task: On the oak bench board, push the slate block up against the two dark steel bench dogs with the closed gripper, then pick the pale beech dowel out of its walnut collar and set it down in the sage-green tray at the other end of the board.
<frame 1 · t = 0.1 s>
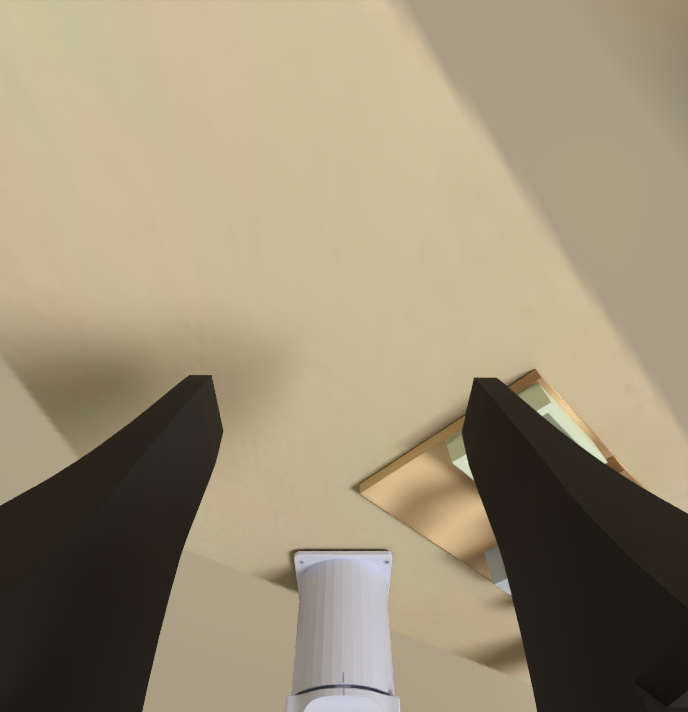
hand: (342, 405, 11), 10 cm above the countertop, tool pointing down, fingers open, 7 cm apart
sage tray: (518, 440, 25), resting on bench board
bench board: (540, 517, 30), on the countertop
slate block: (538, 551, 31), point 1 cm above the countertop, touching bench board
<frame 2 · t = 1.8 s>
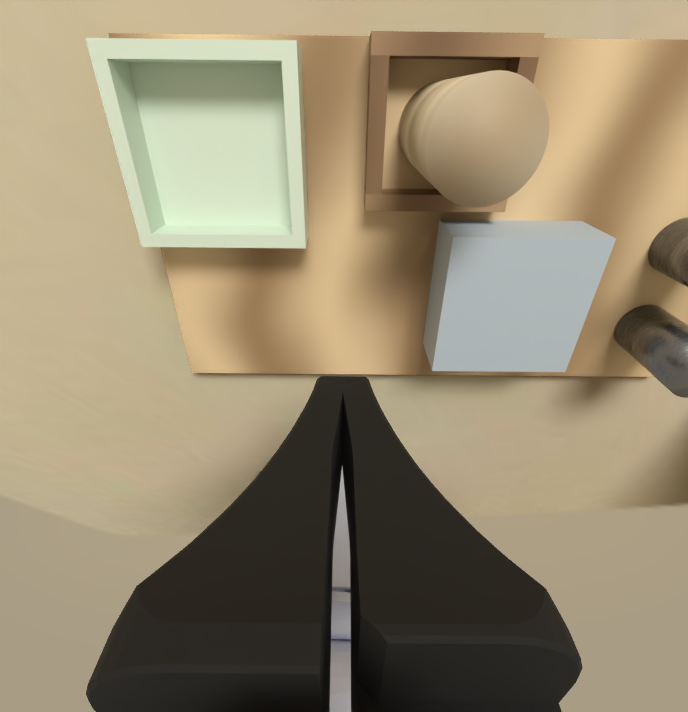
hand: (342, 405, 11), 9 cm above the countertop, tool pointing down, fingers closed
sage tray: (222, 150, 15), resting on bench board
bench dogs: (552, 281, 19), resting on bench board
bench board: (444, 238, 18), on the countertop
slate block: (495, 287, 18), point 1 cm above the countertop, touching bench board
beech dowel: (438, 129, 15), point 1 cm above the countertop, touching bench board
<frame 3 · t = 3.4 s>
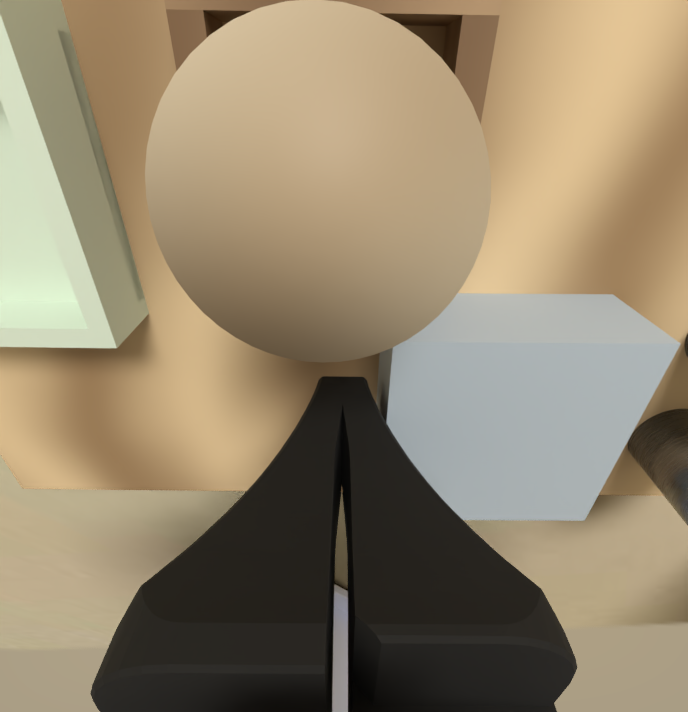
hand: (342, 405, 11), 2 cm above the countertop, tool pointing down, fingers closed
bench dogs: (537, 371, 13), resting on bench board
bench board: (369, 312, 12), on the countertop
slate block: (476, 385, 12), point 1 cm above the countertop, touching gripper
beech dowel: (334, 149, 9), point 1 cm above the countertop, touching bench board
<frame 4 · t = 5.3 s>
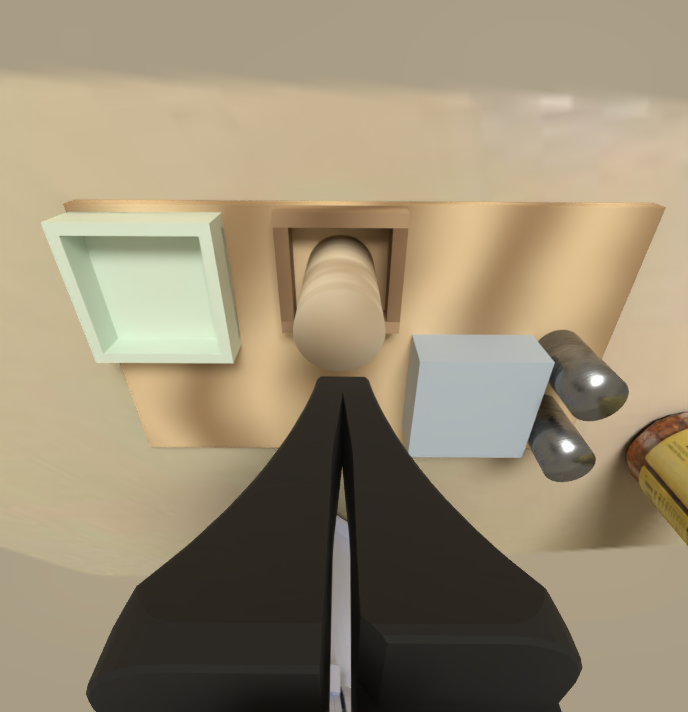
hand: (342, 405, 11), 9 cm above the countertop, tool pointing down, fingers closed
sage tray: (163, 283, 18), resting on bench board
sauce bottle: (671, 438, 25), on the countertop
bench dogs: (457, 373, 22), resting on bench board
bench board: (359, 341, 21), on the countertop
slate block: (462, 383, 21), point 1 cm above the countertop, touching bench board
beech dowel: (340, 268, 18), point 1 cm above the countertop, touching bench board
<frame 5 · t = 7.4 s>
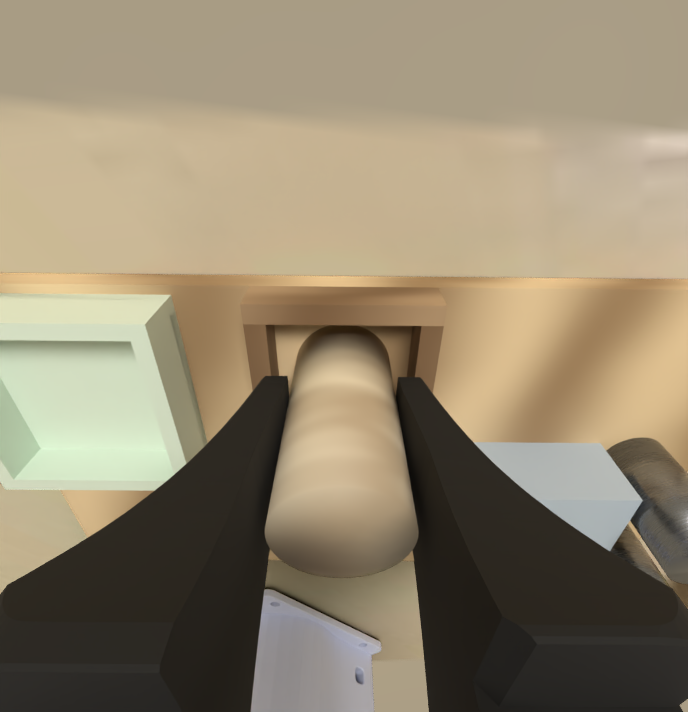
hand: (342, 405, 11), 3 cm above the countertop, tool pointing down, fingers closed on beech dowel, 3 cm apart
sage tray: (96, 382, 13), resting on bench board
bench dogs: (494, 477, 17), resting on bench board
bench board: (367, 442, 16), on the countertop
slate block: (501, 495, 16), point 1 cm above the countertop, touching bench board
beech dowel: (342, 364, 13), point 1 cm above the countertop, touching bench board, gripper
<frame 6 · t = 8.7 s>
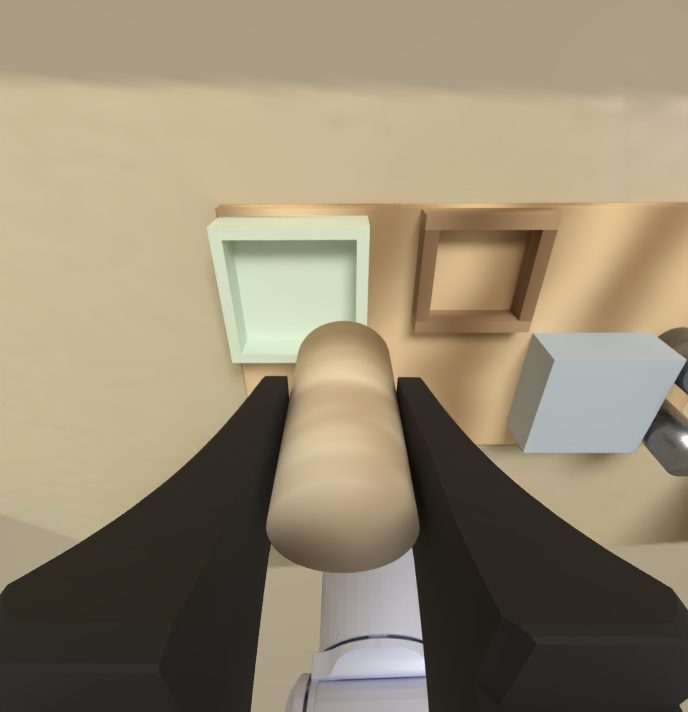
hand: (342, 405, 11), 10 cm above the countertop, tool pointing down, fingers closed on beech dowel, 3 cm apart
sage tray: (298, 285, 19), resting on bench board
bench dogs: (566, 370, 22), resting on bench board
bench board: (475, 340, 21), on the countertop
slate block: (573, 380, 22), point 1 cm above the countertop, touching bench board
beech dowel: (343, 361, 13), point 8 cm above the countertop, touching gripper
when the fingers open (4 cm above the countertop, at t = 10.2 s): beech dowel stays where it is, resting on sage tray.
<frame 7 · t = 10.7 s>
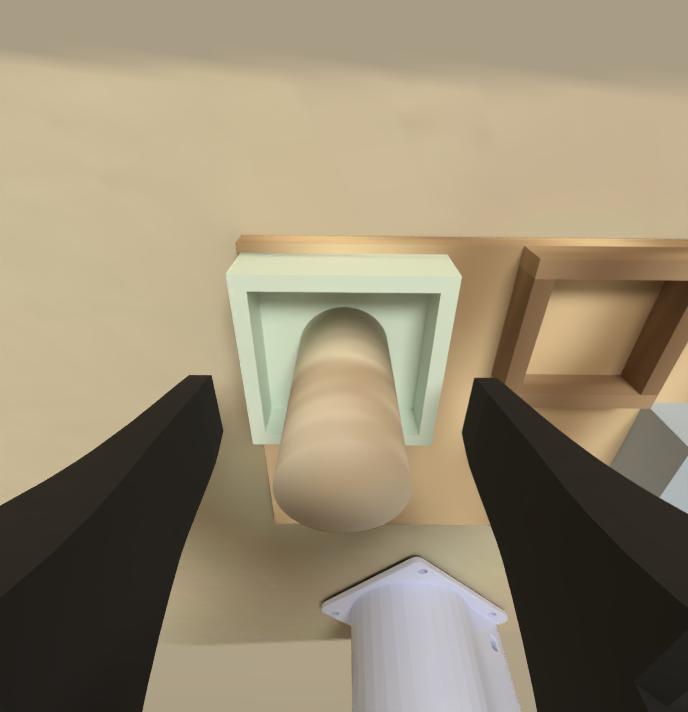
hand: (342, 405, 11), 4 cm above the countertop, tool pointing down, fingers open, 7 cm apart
sage tray: (343, 342, 14), resting on bench board
bench board: (562, 406, 17), on the countertop
slate block: (684, 457, 17), point 1 cm above the countertop, touching bench board
beech dowel: (343, 346, 14), point 1 cm above the countertop, touching sage tray
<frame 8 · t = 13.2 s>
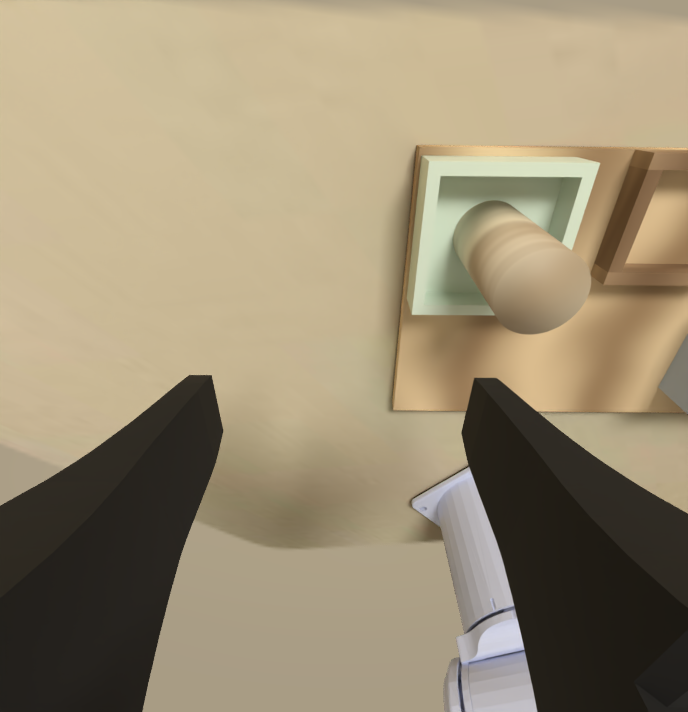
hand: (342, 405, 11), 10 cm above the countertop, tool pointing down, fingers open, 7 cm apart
sage tray: (483, 234, 18), resting on bench board
bench board: (642, 299, 21), on the countertop
beech dowel: (487, 235, 18), point 1 cm above the countertop, touching sage tray
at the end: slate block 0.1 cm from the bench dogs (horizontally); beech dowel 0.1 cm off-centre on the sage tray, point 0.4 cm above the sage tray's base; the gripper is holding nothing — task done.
